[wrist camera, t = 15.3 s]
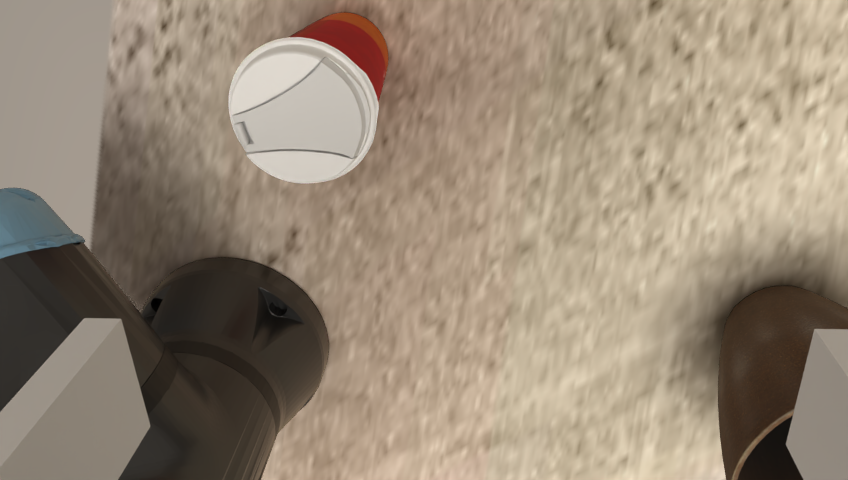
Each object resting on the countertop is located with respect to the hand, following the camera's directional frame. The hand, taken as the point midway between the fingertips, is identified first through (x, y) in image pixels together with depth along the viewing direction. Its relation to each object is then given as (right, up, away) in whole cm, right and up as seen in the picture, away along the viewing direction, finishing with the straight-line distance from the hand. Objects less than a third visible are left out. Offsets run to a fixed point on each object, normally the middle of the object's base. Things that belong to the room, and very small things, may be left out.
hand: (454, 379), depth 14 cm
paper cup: (-6, +15, +34) cm, 38 cm away
